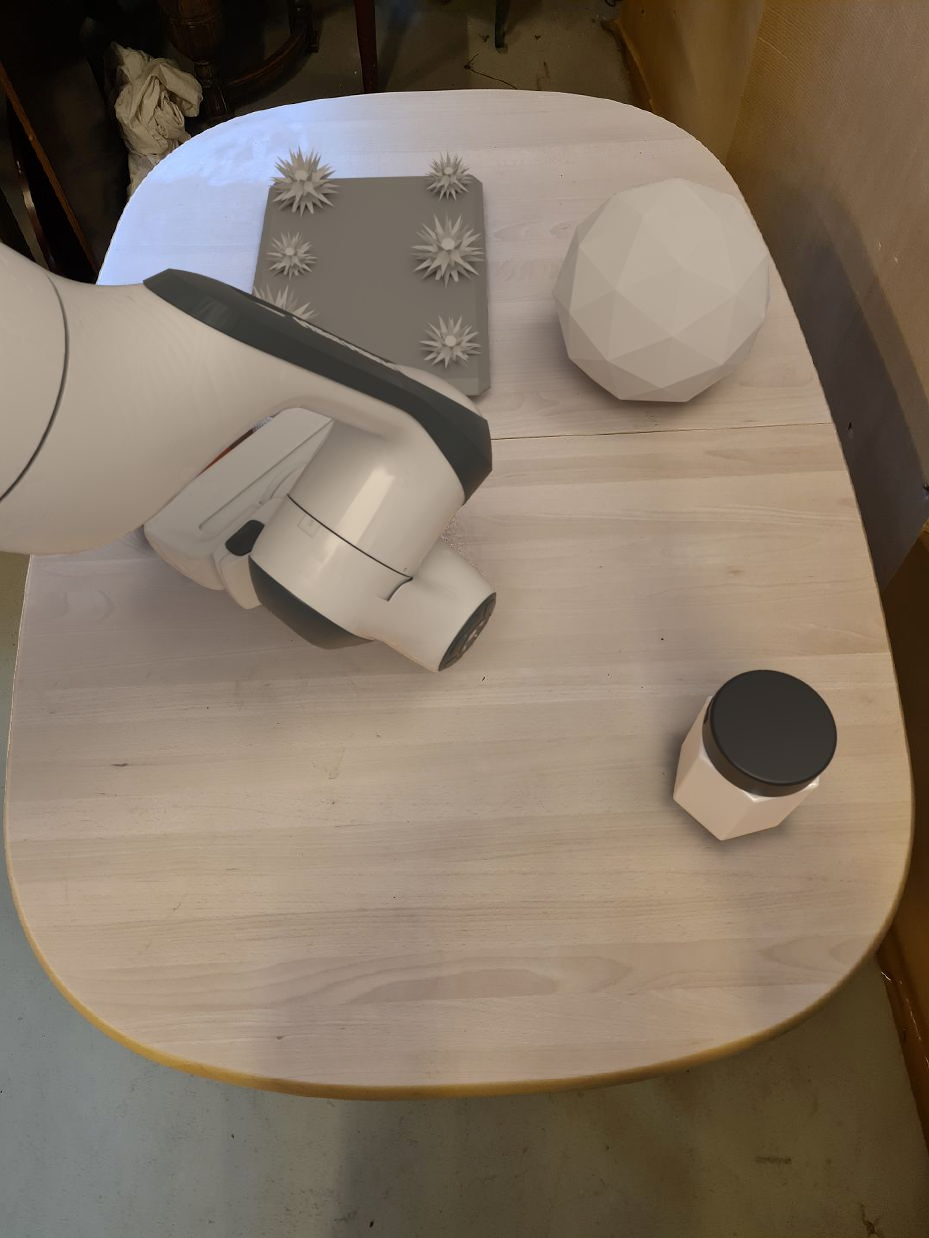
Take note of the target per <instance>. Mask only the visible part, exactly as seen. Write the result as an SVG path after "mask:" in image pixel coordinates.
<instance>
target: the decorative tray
mask: <svg viewBox="0 0 929 1238" xmlns="http://www.w3.org/2000/svg"><path fill="white" fill-rule="evenodd" d="M314 149H315V147H313V148H312V150H311V152H310V154H309V156H308V155H306V156H305V160H304V158H303V154H302V151H301V148H300V146H298V151H296V155H295V152H294V151H293V152H292V150H291V149H290V148H288V151H289V155H290V156H289V157H290V160H291V163H290V162H289V161H288V160H287V159H285V158H284V160H285V161H284V160H283V159H282V158H281V157H279V156H278V155H276V157H277V159H278V160H279V162H280V163H281V164H282V165H283V166H282V165H280V164H279V163H277V162H276V161H275V160H274V163H275V164H276V165H274V167H275V168H276V170H277V171H279V172H280V174H282V176H283V177H282V176H281V177H280V176H270V181H272V182H274V183H273V184H272V185H269V188H268V193H267V199H266V204H265V205H266V206H265V211H264V217H263V222H262V230H261V234H260V235H261V236H260V240H259V241H260V242H259V247H258V252H257V253H258V254H257V260H256V264H255V265H256V266H255V272H254V278H253V284H252V291H251V295H253V296H256V297H258V298H260V299H262V300H264V301H266V302H269V303H271V304H273V305H275V306H277V307H279V308H281V309H283V310H285V311H288V312H290V313H292V314H294V315H296V316H298V317H300V318H302V319H304V320H306V321H308V322H310V323H312V324H314V325H316V326H318V327H320V328H322V329H324V330H326V331H328V332H330V333H332V334H334V335H336V336H338V337H340V338H342V339H344V340H346V341H348V342H350V343H352V344H354V345H356V346H358V347H361V348H363V349H365V350H367V351H369V352H371V353H373V354H375V355H378V356H380V357H382V358H385V359H387V360H390V361H392V362H394V363H396V364H398V365H403V366H408V367H413V368H416V369H420V370H423V371H426V372H428V373H431V374H433V375H435V376H437V377H439V378H441V379H443V380H445V381H446V382H448V383H449V384H451V385H453V386H454V387H456V388H457V389H458V390H459V391H461V392H462V393H463V394H464V395H466V396H467V397H468V398H470V397H473V398H474V397H480V396H481V395H483V394H484V393H485V392H487V391H488V390H489V389H491V359H490V337H489V336H490V335H489V313H488V312H489V311H488V288H487V264H486V263H487V260H486V238H485V236H486V235H485V214H484V213H485V211H484V189H483V185H484V184H483V182H482V181H480V179H478V178H477V177H476V176H474V175H473V174H471V173H466V172H467V171H468V170H469V169H470V167H469V166H470V164H467V165H465V164H466V162H463V163H462V160H463V158H464V157H463V156H462V157H461V158H460V159H459V155H458V152H456V153H455V155H454V158H453V159H452V161H451V158H450V154H449V151H447V153H446V160H445V159H444V157H443V155H442V152H439V156H440V160H439V162H438V161H437V160H435V159H434V157H432V158H431V160H432V161H431V163H432V164H433V165H432V164H429V167H430V168H431V169H432V170H433V171H428V173H425V175H405V176H403V175H402V176H371V177H366V176H365V177H336V178H335V177H334V178H329V177H330V176H331V175H332V174H334V173H335V172H336V171H337V169H335V170H332V171H330V169H331V168H332V167H333V165H331V166H329V164H330V162H328V163H327V164H325V165H323V166H321V167H320V168H318V167H319V163H320V161H321V157H322V155H323V154H320V155H319V157H318V153H319V152H318V151H317V152H316V154H315V156H314ZM313 156H314V158H313ZM317 157H318V159H317ZM458 159H459V160H458ZM461 163H462V164H461ZM328 171H329V172H328Z"/></svg>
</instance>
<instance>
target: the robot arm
mask: <svg viewBox="0 0 929 1238" xmlns="http://www.w3.org/2000/svg"><path fill="white" fill-rule="evenodd" d="M268 418H271V419H270V420H269V421H267V422H266V423H264V424H263V425H262V426H261V427H260V428H258V429H256V432H254V433H253V434H252V435H251V436H249V437H248V438H247V439H245V440H244V441H243V442H241V443H240V444H239V445H238V446H236V447H235V448H234V449H232V450H231V451H230V452H229V453H227V454H226V455H225V456H223V457H222V458H221V459H219V460H218V461H217V462H216V463H214V464H213V465H212V466H210V467H209V468H208V469H207V470H205V471H204V472H203V473H201V472H202V471H203V470H204V469H205V468H206V467H207V466H208V465H209V464H210V463H211V462H212V461H213V460H214V459H215V458H216V457H218V456H219V455H220V454H221V453H222V452H223V451H224V450H225V449H227V448H228V447H229V446H230V445H231V444H233V443H234V442H235V441H236V440H237V439H239V438H240V437H241V436H243V435H244V434H245V433H246V432H248V431H249V430H250V429H252V428H253V427H255V428H256V427H257V425H259V424H260V423H262V422H263V421H265V420H267V419H268ZM492 445H493V444H492V437H491V430H490V426H489V421H488V420H487V419H486V418H485V417H484V416H483V414H482V413H481V411H480V409H479V408H478V406H477V405H476V404H475V403H474V402H473V401H472V400H471V399H470V397H467V396H466V395H464V394H463V393H462V392H461V391H459V390H458V389H457V388H456V387H454V386H453V385H451V384H449V383H448V382H446V381H445V380H443V379H441V378H439V377H437V376H435V375H433V374H431V373H428V372H426V371H423V370H420V369H416V368H413V367H408V366H403V365H398V364H396V363H394V362H392V361H390V360H387V359H385V358H382V357H380V356H378V355H375V354H373V353H371V352H369V351H367V350H365V349H363V348H361V347H358V346H356V345H354V344H352V343H350V342H348V341H346V340H344V339H342V338H340V337H338V336H336V335H334V334H332V333H330V332H328V331H326V330H324V329H322V328H320V327H318V326H316V325H314V324H312V323H310V322H308V321H306V320H304V319H302V318H300V317H298V316H296V315H294V314H292V313H290V312H288V311H285V310H283V309H281V308H279V307H277V306H275V305H273V304H271V303H269V302H266V301H264V300H262V299H260V298H258V297H256V296H253V295H252V293H249V292H247V291H245V290H242V289H240V288H238V287H235V286H234V285H231V284H229V283H226V282H223V281H221V280H218V279H216V278H213V277H210V276H207V275H203V274H201V273H198V272H194V271H193V272H192V271H190V270H189V271H188V270H184V269H176V268H170V267H169V268H167V269H164V270H162V271H160V272H158V273H156V274H154V275H152V276H150V277H147V278H145V279H143V280H142V282H139V283H129V284H120V285H119V284H110V285H109V284H95V283H86V282H80V281H77V280H72V279H69V278H67V277H64V276H61V275H58V274H55V273H54V272H51V271H50V270H48V269H46V268H44V267H43V266H41V265H39V264H37V263H36V262H35V261H32V260H31V259H30V258H28V257H27V256H25V255H23V254H21V253H20V252H18V251H17V250H15V249H13V248H11V247H9V246H8V245H6V244H5V243H3V242H2V241H0V552H4V553H10V554H18V555H28V556H29V555H32V556H54V555H55V556H56V555H57V556H59V555H68V554H69V555H70V554H76V553H81V552H85V551H90V550H93V549H96V548H100V547H102V546H105V545H107V544H110V543H112V542H115V541H117V540H118V539H120V538H122V537H124V536H127V535H128V534H130V533H133V531H135V530H137V529H139V528H140V527H141V526H142V525H143V524H144V528H143V533H144V536H145V538H146V539H147V541H148V543H149V544H150V546H151V547H152V549H153V550H154V552H155V553H156V554H157V555H158V557H160V558H161V559H162V560H163V561H164V562H165V563H167V564H168V565H170V566H171V567H172V568H174V569H175V570H176V571H178V572H179V573H181V574H182V575H183V576H185V577H187V578H188V579H189V580H192V582H195V583H197V584H198V585H200V586H202V587H205V588H207V589H211V590H218V591H222V590H226V591H227V592H228V594H229V596H231V598H232V599H233V600H234V601H235V603H236V604H237V605H238V606H240V607H241V608H243V609H245V610H251V609H254V608H257V607H259V606H261V605H262V606H263V607H264V608H266V609H267V610H268V611H269V612H270V613H272V614H273V615H274V616H275V617H276V618H278V619H279V620H280V621H281V622H282V623H283V624H285V625H286V626H287V627H288V628H289V629H291V630H292V631H293V632H295V633H296V634H297V635H298V636H299V637H301V638H302V639H304V640H305V641H307V642H308V643H310V644H311V645H313V646H315V647H318V648H319V649H324V650H328V651H329V650H331V651H332V650H339V649H344V648H349V647H357V646H361V645H366V644H371V643H373V642H375V640H377V641H380V642H382V643H384V644H386V645H387V646H389V647H390V648H391V649H393V650H395V651H396V652H398V653H399V654H401V655H403V656H404V657H406V658H408V659H409V660H410V661H412V662H414V663H415V664H418V665H420V666H421V667H422V668H424V669H427V670H429V671H431V672H434V673H440V672H443V671H445V670H446V669H449V668H451V667H452V666H454V665H455V664H456V663H458V661H460V660H461V659H462V657H463V655H464V654H466V653H467V652H468V651H469V650H470V648H471V646H472V645H474V643H475V641H476V640H477V638H479V636H480V634H481V633H482V631H483V630H484V628H485V627H486V625H487V624H488V622H489V620H490V617H492V614H493V613H494V610H495V607H496V603H497V601H496V600H497V590H496V588H495V586H494V585H493V584H492V583H491V582H490V581H489V580H488V578H486V577H485V576H484V574H483V573H482V572H481V571H480V570H479V569H478V568H477V567H476V566H475V565H473V563H471V561H469V560H468V559H467V558H466V556H464V555H463V554H462V553H461V552H460V551H458V550H457V549H456V548H454V546H453V545H451V544H450V543H449V542H448V541H447V540H445V539H444V538H443V537H441V536H442V535H443V533H444V532H445V531H446V529H447V528H448V526H449V525H450V523H451V522H452V521H453V519H454V518H455V516H456V514H457V513H458V511H460V509H461V507H463V506H465V505H466V503H467V502H468V501H469V500H470V498H471V497H472V496H473V495H474V494H475V492H476V491H477V490H478V489H479V487H480V486H481V485H482V484H483V483H484V481H485V480H486V479H487V478H488V477H489V475H490V474H491V473H492V471H493V447H492ZM200 473H201V474H200ZM199 474H200V475H199ZM198 475H199V476H198ZM142 527H143V526H142Z"/></svg>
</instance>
